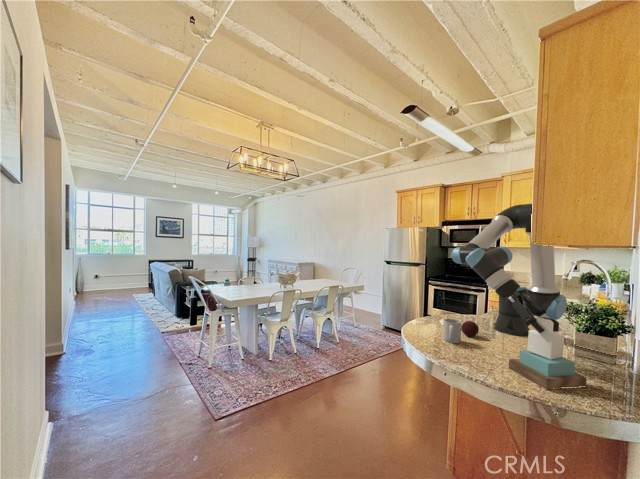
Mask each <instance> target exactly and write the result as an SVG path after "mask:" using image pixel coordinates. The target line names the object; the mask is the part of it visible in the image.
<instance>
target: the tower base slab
mask: <svg viewBox="0 0 640 479" xmlns="http://www.w3.org/2000/svg"><path fill="white" fill-rule="evenodd" d="M508 369H509V370H511V371H513V372H515V373H517V374H518V375H520V376H521V377H523V378H525V379H527V380H528V381H531V382H532V383H534V384H536V385H537V386H539V387H541V388H543V389H545V390H546V389H549V390H554V389H553V388H561V387H579V386H586V387H587V377H586V376H584V375H581V374H580V373H577V372H575V375H564V376H546V375H544V374H542V373H540V372H538V371H536V370H534V369H532V368H530V367H528V366H526V365H524V364H522V363H520V358H508Z"/></svg>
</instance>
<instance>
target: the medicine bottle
mask: <svg viewBox="0 0 640 479" xmlns="http://www.w3.org/2000/svg"><path fill="white" fill-rule="evenodd" d="M535 318H536V319H537V321H538V320H539V321H540V322H541V323H542V324H543V325H544V326H545V327H546V328H547V329H548V330H549V331H550V332H551V333H552V334H553V335H554V336H555V337H556V338H557V339H555V340H554V341H552V342H550V343H548V342H547V341H546V340H545V339H544V338H543V337H542V336H541V335H540V334H539V333H538V332H537V331H536V330H535V329H530V330H529V331H528V336H527V342H526V344H527V346H526V350H527V351H529V352H532V353H534V354H537V355H539V356H542V357H545V358H547V359H550V360H552V359H556V358H561V357H563V358H564V346H565V335H562V334H559V332H560V331H559V328H560V321H557V320H554V319H550V318H545V317H535ZM558 331H559V332H558Z"/></svg>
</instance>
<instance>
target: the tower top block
mask: <svg viewBox="0 0 640 479" xmlns="http://www.w3.org/2000/svg"><path fill="white" fill-rule="evenodd" d="M519 359H520V363H522V364H524V365H526V366H528V367H530V368H532V369H534V370H536V371H538V372H540V373H542V374H544V375H546V376H564V375H575V373H576V361H573V360H570V359H568V358H565V357H564V356H563V357H561V358H556V359H552V360H550V359H547V358H545V357H542V356H539V355H537V354H534V353H532V352H529V351H527V349H525V350H519Z"/></svg>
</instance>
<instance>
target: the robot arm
mask: <svg viewBox="0 0 640 479" xmlns="http://www.w3.org/2000/svg"><path fill="white" fill-rule="evenodd" d="M531 214H532V203H524V204H516V205H513V206H509V207H507V208H506V209H504V210H502V211H500V212H499V213H497V215H495V216H494V217H492V219H491V222H490V223H489V224H488V225H486V226H485V228H484V229H483V230H481V231H480V232H479V233H478V234H477V235H475V236H474V237H473V238H472V239H471V240H470V241H469V242H467V244H465V246H463V247H461V246H459V247H455V248H454V249H453V250H452V252H451V258H452V261H453V262H454V263H455V264H459V265H468V266H469V267H470V268H471V269H473V271H474V272H475V273H476V274H477V275H479V277H480V278H482V279H483V281H484V282H485V283H486V286H487V287H490V288H491V289H492V290H495V291H494V292H495V293H496V295H498V314H497V316H496V319H495V322H494V324H493V328H494V330H495V331H498V332H500V333H503V334H506V335H507V334H508V335H511V336H518V337H519V336H520V337H528V331H529V330H531V329H530V327H529V326H531V327H532V328H533V330H536V331H537V332H538V333H539V334H540V335H541V336H542V337H543V338H544V339H545V340H546V341H547V342H548V343H550V342H552V341H554V340H555V339H557V338H556V337H555V336H554V335H553V334H552V333H551V332H550V331H549V330H548V329H547V328H546V327H545V326H544V325H543V324H542V323H541V322H540V321H539V320H538V321H537V319H536V318H538V317H545V318H550V319H554V320H556V321H557V320H559V319H560V320H561V318H562V317H563V315H564V313H565V312H566V308H567V305H568V304H567V302H568V301H567V298H566V296H565V295H563V294H561V290H560V288H558V287H557V286H556V268H555V267H556V266H555V246H543V245H537V244H534V243H531ZM515 229H524V230H525V233H526V234H527V235H528V236H529V246H530V248H529V249H530V250H529V251H530V252H529V253H530V270H531V273H530V274H531V285H530V286H529V287H528V288H527V286H521V285H520V284H519V282H517V281H516V280H515V279H513V278H512V277H511V275H510V274H508V272H507V271H506V270H504V269H503V268H502V267H505V266H507V265H508V264H509V263H510V262H512V260H513V256H514V255H513V253H512V251H511V249H509V248H508V247H506V246H496V247H495V248H492V246H493V245H494V244H495V243H496V242H497V241H498V240H499V239H500V238H502V236H503V235H504V234H505V233H509V232H511V231H512V230H515ZM561 331H562V329H561V328H560V327H559V331H558V333H559V332H561Z"/></svg>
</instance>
